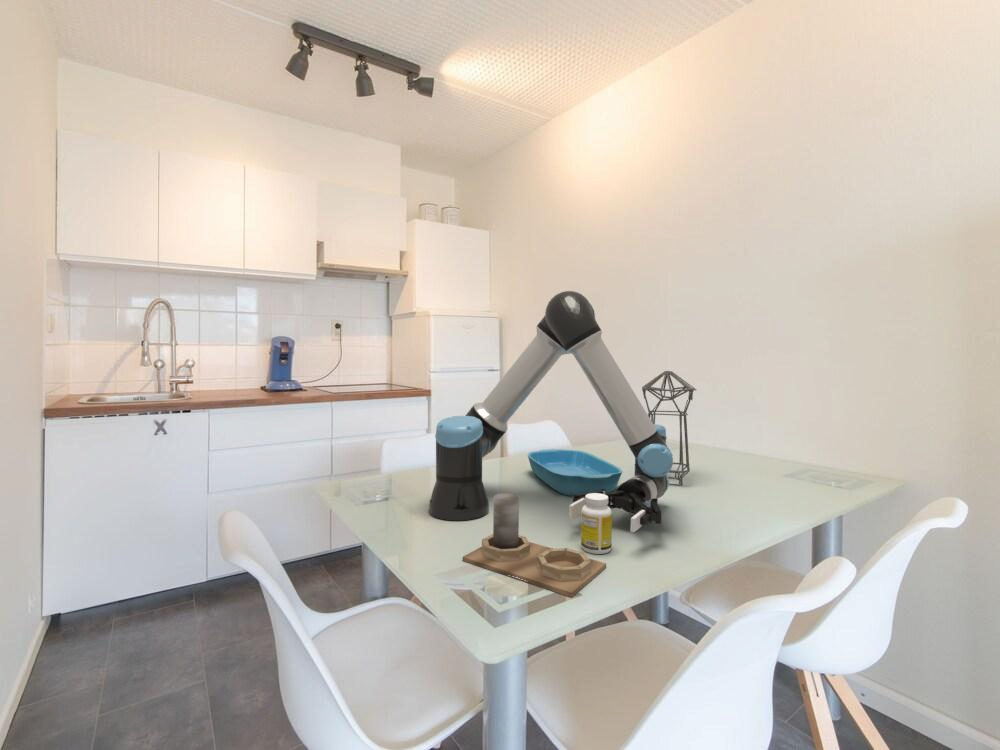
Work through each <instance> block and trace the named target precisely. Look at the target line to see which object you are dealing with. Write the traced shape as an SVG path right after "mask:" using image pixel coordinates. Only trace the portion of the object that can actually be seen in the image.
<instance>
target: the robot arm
mask: <svg viewBox="0 0 1000 750" xmlns="http://www.w3.org/2000/svg"><path fill="white" fill-rule="evenodd" d="M535 328H536V335H535V337H534V338H533V339H532V340H531V342H530V343H528V345H527V347H526V348H525V349H524V350H523V352H522V353H521V354H520V355H519V356H518V358H517V359H516V360H515V362H513V364H512V365H511V366H510V368H509V369H508V370H507V371H506V373H505V374H504V375H503V377H502V378H501V379H500V381H498V382H497V384H496V385H495V387H494V388H493V389H492V390H491V391H490V392H489V394H488V395H487V397H486V398H485V399H484V400H483V401H482V402H475V403H474V404H473V405H472V406H471V407H470V409H469V410H468V412H467V413H466V414H465V415H454V416H451V417H445V418H442V419H441V420H439V422H438V423H437V425H436V427H435V428H436V431H435V435H434V436H435V483H434V486H433V490H432V493H431V497H430V499H429V503H428V513H429V514H430V516H432V517H434V518H437V519H440V520H445V521H469V520H474V519H479V518H482V517H483V516H486V515H487V514H488V513H489V511H490V510H489V509H490V504H489V503H490V501H489V499H488V497H487V493H486V489H485V485H484V481H483V458H484V457H485V456H487V455H488V454H490V453H492V451H493V450H494V449H495V448H496V446H497V444H498V443H499V441H500V439H501V438H502V437H503V436H504V434H506V432H507V431H508V421H509V420H510V419H511V418H512V416H514V414H515V413H516V412H517V410H518V409H519V407H520V406H522V404H523V403H524V401H526V399H527V398H528V397H529V396H530V395H531V393H532V392H533V391H534V389H536V387H537V386H538V384H539V383H540V382H541V381H542V379H543V378H545V376H547V374H548V372H549V371H550V370H551V369H552V367H553V366H554V365H555V364H556V363H557V361H559V359H560V358H561V357H562V356H564V355H573V356H574V358H575V360H576V362H577V363H578V365H579V366H580V368H581V369H582V372H583V373H584V374H585V376H586V378H587V380H588V381H589V383H590V386H592V388H593V390H594V392H595V393H596V394H597V396H598V398H599V399H600V401H601V403H602V405H603V406H604V408H605V410H606V412H607V413H608V415H609V416H610V417H611V419H612V421H613V423H614V424H615V426H616V428H617V430H618V431H619V433H620V434H621V435H622V438H623V439H624V441H625V442H626V443H627V446H628V447H629V449H630V451H631V453H632V454H633V456H634V476H632V477H630V478H628V479H627V480H626V481H624V482H623V483H621V484H619V486H618V487H617V489H616V490H615V491H611V492H608V493H606V490H605V489H600V490H598V491H593V492H587V493H581V494H574V495H573V496H572V503H571V504H569V506H568V518H569V519H574V518H575V517H577V516H579V515H580V514H581V511H582V508H583V506H584V505H586V503H585V496H586V495H587V494H590V493H600V494H605V495H607V496H608V505H607V506H608V507H609V508H610V509H619V510H623V511H625V512H626V513H629V514H634V515H633V516H632V517H631V518H630V532H631V533H636V531H638V530H639V529H641V527H642V526H647V525H648V524H651V523H653V522H654V523H655V524H657V525H661V524H662V519H663V518H662V517H663V515H662V513H663V512H662V510H661V508H660V506H659V504H658V501H659V498H661V497H662V496H664V495H665V493H666V492H667V491H668V489H669V487H670V485H669V484H670V478H668V477H669V476H668V474H669V473H668V472H669V471H670V470H672V468H673V465H674V464H673V463H674V458H673V454H672V451H671V450H670V448H669V447H668V445H667V438H668V437H667V432H666V431H667V429H666V427H665V426H664V425H662V424H661V425H660V424H656V423H655V424H653V423H652V421H651V417H650V418H649V416H648V412H647V411H646V409H645V408H644V406H643V405H642V402H640V400H639V398H638V397H637V395H636V393H635V392H634V390H633V388H632V387H631V385H630V383H629V382H628V380H627V378H626V377H625V375H624V373H623V372H622V370H621V369H620V366H619V365H618V364H617V362H616V360H615V359H614V357H613V355H612V353H611V352H610V350H609V348H608V347H607V346H606V345H607V344H605V343H604V340H603V338H602V334H603V330H602V328H601V327H600V325H599V323H598V321H597V320H596V313H595V310H594V308H593V306H592V304H591V303H590V302H589V299H588V298H586V296H585V295H583V294H581V293H580V292H577V291H572V290H565V291H561V292H559V293H556V294H555V295H554V296H553V297H552V298H551V299H550V301H549V302H548V303H547V305H546V308H545V313H544V316H543V318H542V319H541V320H540V321H539V323H538V324H537V325H536V327H535Z"/></svg>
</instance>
